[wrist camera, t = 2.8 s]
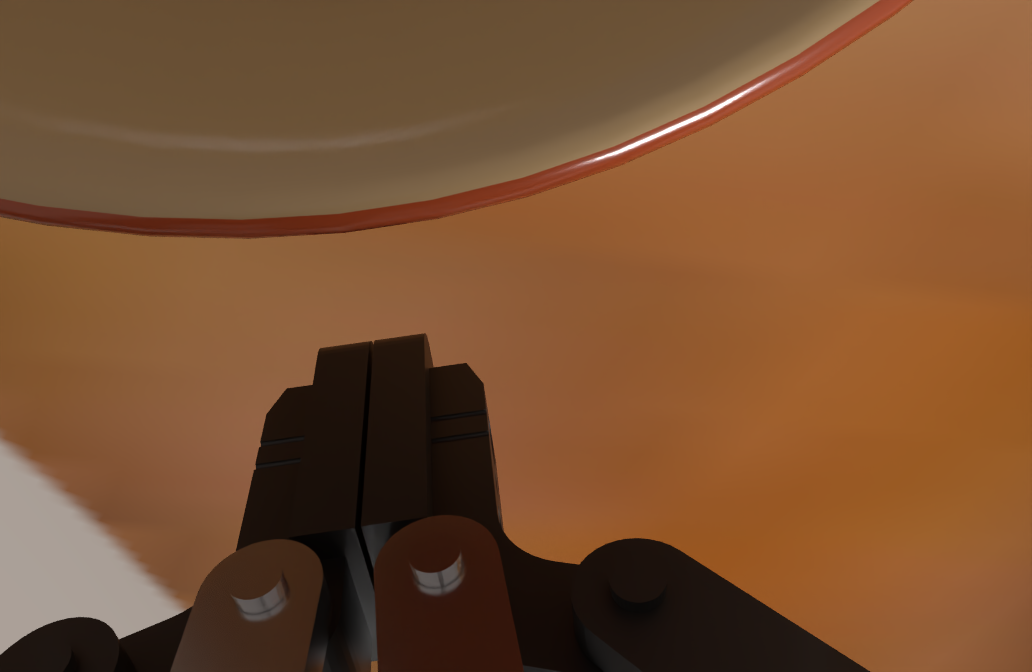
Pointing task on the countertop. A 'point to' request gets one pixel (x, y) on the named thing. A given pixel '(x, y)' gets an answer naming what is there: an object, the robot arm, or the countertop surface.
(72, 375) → the countertop surface
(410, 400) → the robot arm
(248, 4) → the mug
